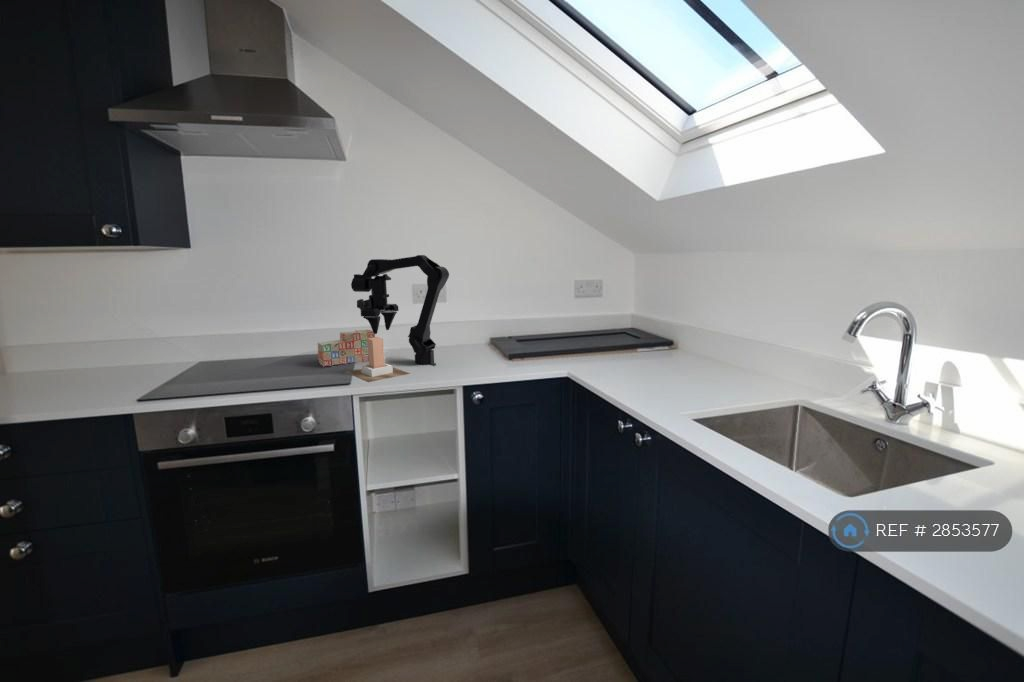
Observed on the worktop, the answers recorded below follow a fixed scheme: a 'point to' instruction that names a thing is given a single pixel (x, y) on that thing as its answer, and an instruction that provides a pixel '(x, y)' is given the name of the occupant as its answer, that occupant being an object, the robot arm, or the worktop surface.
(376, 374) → the white square frame
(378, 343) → the terracotta pillar
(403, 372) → the walnut board
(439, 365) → the worktop surface
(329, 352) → the stack of blocks
